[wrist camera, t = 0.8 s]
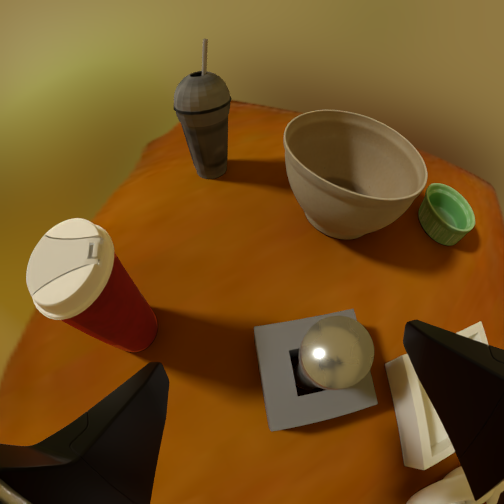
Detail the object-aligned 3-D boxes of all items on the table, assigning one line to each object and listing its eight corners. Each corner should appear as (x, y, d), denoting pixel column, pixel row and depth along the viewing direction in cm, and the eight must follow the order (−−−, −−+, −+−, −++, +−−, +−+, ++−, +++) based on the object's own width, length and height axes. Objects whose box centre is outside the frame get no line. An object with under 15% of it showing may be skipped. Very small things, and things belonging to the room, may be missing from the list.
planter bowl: (395, 277, 29) (440, 219, 20) (264, 246, 32) (267, 174, 23) (391, 186, 37) (414, 129, 28) (290, 162, 40) (296, 99, 31)
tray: (481, 419, 18) (502, 415, 15) (404, 465, 17) (424, 470, 14) (461, 332, 24) (480, 320, 21) (384, 364, 24) (402, 355, 20)
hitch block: (361, 406, 22) (377, 403, 18) (269, 428, 21) (271, 431, 18) (341, 322, 26) (353, 308, 23) (254, 338, 26) (253, 326, 22)
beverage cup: (189, 157, 41) (168, 39, 25) (235, 152, 42) (227, 32, 25) (185, 188, 37) (156, 53, 21) (237, 183, 38) (227, 42, 21)
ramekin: (464, 224, 34) (478, 207, 30) (454, 261, 30) (471, 243, 26) (423, 193, 37) (433, 174, 33) (407, 224, 33) (419, 203, 30)
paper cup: (164, 289, 29) (111, 201, 17) (171, 358, 25) (101, 303, 13) (103, 300, 28) (32, 226, 16) (104, 365, 24) (12, 316, 12)
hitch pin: (336, 391, 23) (381, 376, 14) (288, 402, 22) (309, 396, 13) (326, 347, 25) (363, 309, 16) (280, 356, 25) (294, 323, 16)
